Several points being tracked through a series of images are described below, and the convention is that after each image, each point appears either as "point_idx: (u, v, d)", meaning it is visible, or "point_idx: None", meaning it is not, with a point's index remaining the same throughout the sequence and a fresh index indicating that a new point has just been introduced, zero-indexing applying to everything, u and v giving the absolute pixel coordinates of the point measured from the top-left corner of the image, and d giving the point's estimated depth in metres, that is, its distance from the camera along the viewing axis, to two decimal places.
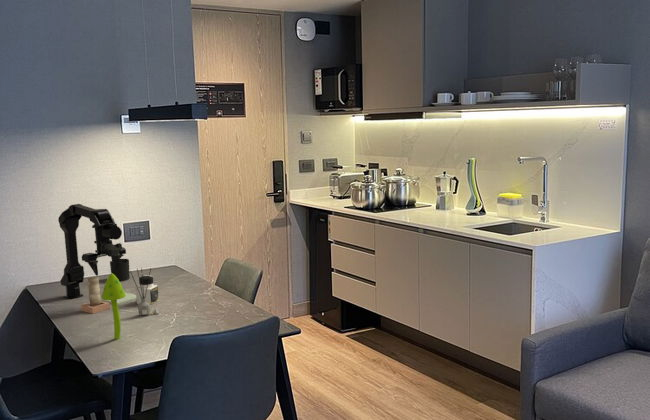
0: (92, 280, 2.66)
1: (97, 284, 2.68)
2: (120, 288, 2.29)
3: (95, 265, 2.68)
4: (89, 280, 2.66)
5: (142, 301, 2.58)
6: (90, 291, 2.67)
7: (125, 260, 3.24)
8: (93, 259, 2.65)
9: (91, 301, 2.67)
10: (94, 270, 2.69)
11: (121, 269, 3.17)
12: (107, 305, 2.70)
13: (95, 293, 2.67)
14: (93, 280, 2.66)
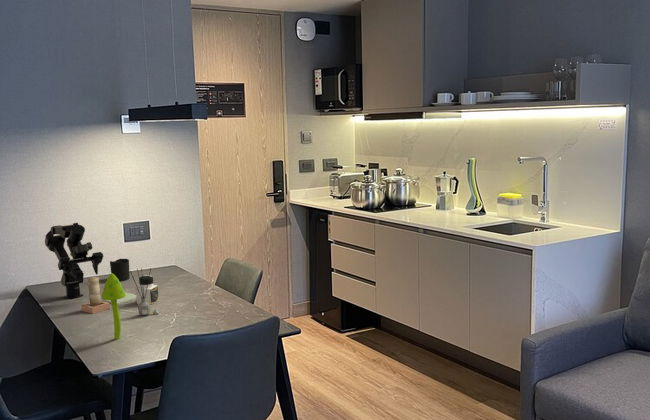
0: (92, 280, 2.66)
1: (97, 284, 2.68)
2: (120, 288, 2.29)
3: (70, 267, 2.72)
4: (89, 280, 2.66)
5: (142, 301, 2.58)
6: (90, 291, 2.67)
7: (125, 260, 3.24)
8: (65, 260, 2.71)
9: (91, 301, 2.67)
10: (72, 273, 2.72)
11: (121, 269, 3.17)
12: (107, 305, 2.70)
13: (95, 293, 2.67)
14: (93, 280, 2.66)
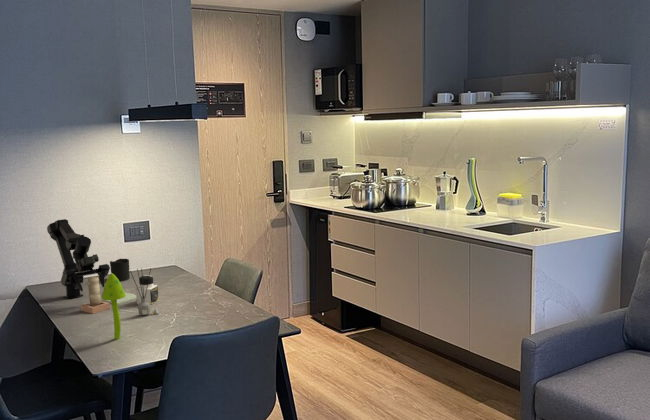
0: (92, 280, 2.66)
1: (97, 284, 2.68)
2: (120, 288, 2.29)
3: (77, 280, 2.67)
4: (89, 280, 2.66)
5: (142, 301, 2.58)
6: (90, 291, 2.67)
7: (125, 260, 3.24)
8: (71, 273, 2.66)
9: (91, 301, 2.67)
10: (78, 286, 2.67)
11: (121, 269, 3.17)
12: (107, 305, 2.70)
13: (95, 293, 2.67)
14: (93, 280, 2.66)
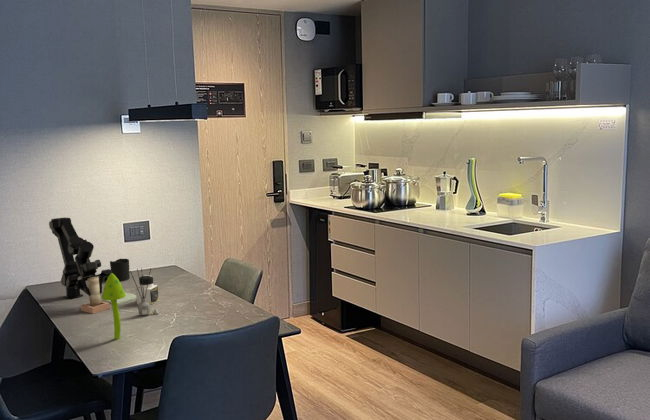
0: (92, 280, 2.66)
1: (97, 284, 2.68)
2: (120, 288, 2.29)
3: (84, 285, 2.67)
4: (89, 280, 2.66)
5: (142, 301, 2.58)
6: (90, 291, 2.67)
7: (125, 260, 3.24)
8: (73, 278, 2.65)
9: (91, 301, 2.67)
10: (86, 291, 2.67)
11: (121, 269, 3.17)
12: (107, 305, 2.70)
13: (95, 293, 2.67)
14: (93, 280, 2.66)
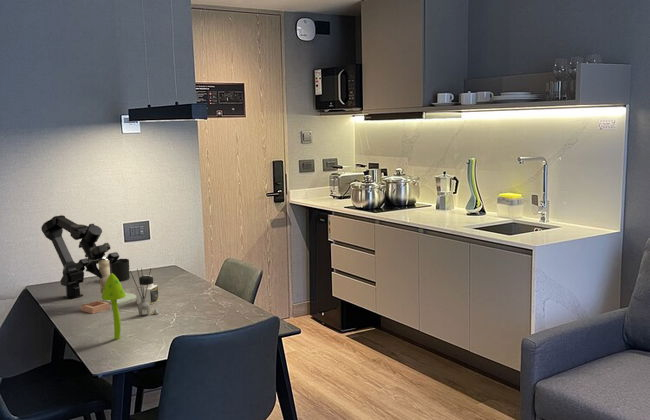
0: (104, 262, 2.70)
1: (108, 266, 2.72)
2: (120, 288, 2.29)
3: (95, 267, 2.70)
4: (101, 263, 2.70)
5: (142, 301, 2.58)
6: (102, 273, 2.71)
7: (125, 260, 3.24)
8: (85, 261, 2.68)
9: (102, 283, 2.71)
10: (97, 273, 2.71)
11: (121, 269, 3.17)
12: (107, 305, 2.70)
13: (107, 276, 2.72)
14: (105, 262, 2.70)
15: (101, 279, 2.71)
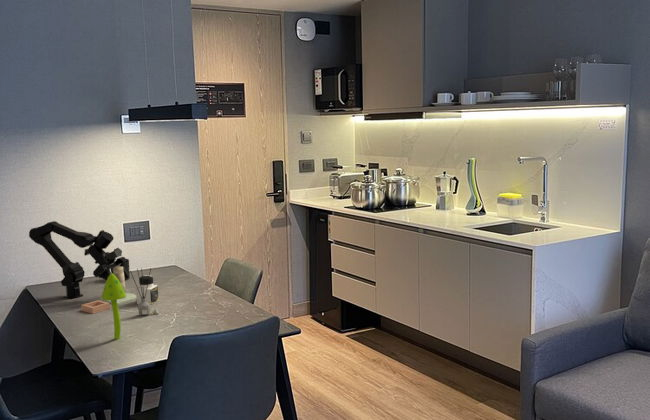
0: (120, 269, 2.82)
1: (123, 272, 2.84)
2: (120, 288, 2.29)
3: (109, 273, 2.78)
4: (117, 269, 2.81)
5: (142, 301, 2.58)
6: (118, 279, 2.82)
7: None
8: (104, 266, 2.76)
9: None
10: None
11: None
12: (107, 305, 2.70)
13: (123, 281, 2.83)
14: (121, 268, 2.82)
15: None
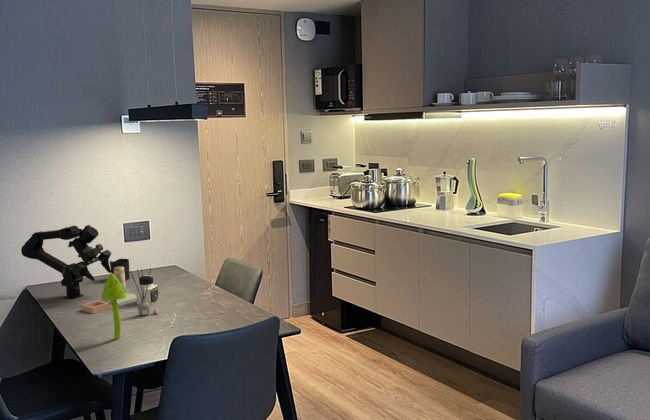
0: (121, 269, 2.82)
1: (124, 272, 2.84)
2: (120, 288, 2.29)
3: (87, 271, 2.80)
4: (118, 269, 2.81)
5: (142, 301, 2.58)
6: (119, 280, 2.82)
7: (125, 260, 3.24)
8: (81, 265, 2.78)
9: None
10: (89, 277, 2.81)
11: None
12: (107, 305, 2.70)
13: (124, 281, 2.83)
14: (122, 269, 2.82)
15: None
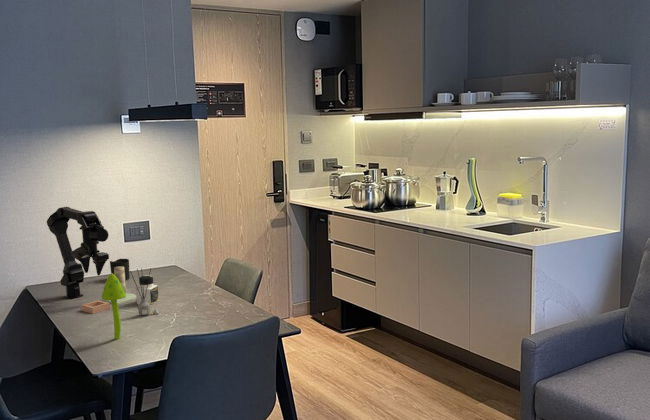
0: (121, 269, 2.82)
1: (124, 272, 2.84)
2: (120, 288, 2.29)
3: (81, 262, 2.82)
4: (118, 269, 2.81)
5: (142, 301, 2.58)
6: (119, 280, 2.82)
7: (125, 260, 3.24)
8: None
9: None
10: None
11: None
12: (107, 305, 2.70)
13: (124, 281, 2.83)
14: (122, 269, 2.82)
15: None
